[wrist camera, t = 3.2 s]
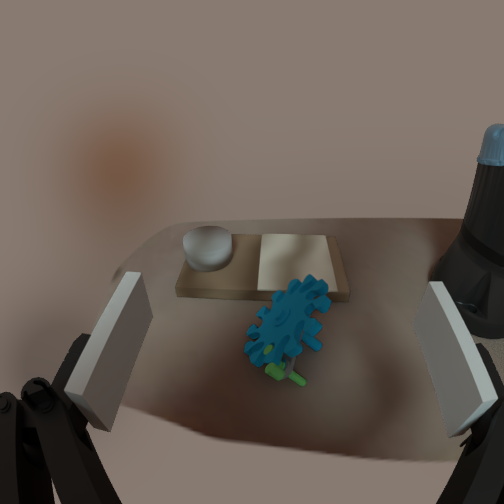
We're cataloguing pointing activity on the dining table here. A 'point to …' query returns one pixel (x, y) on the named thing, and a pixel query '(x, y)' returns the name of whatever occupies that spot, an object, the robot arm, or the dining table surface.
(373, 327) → the dining table surface
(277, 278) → the wooden board
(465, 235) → the robot arm
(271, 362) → the gear
